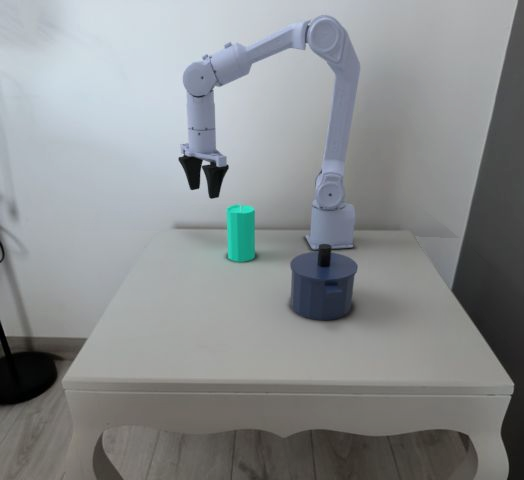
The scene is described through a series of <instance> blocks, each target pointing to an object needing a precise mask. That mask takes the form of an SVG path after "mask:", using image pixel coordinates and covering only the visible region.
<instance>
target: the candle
mask: <svg viewBox="0 0 524 480" xmlns="http://www.w3.org/2000/svg"><path fill="white" fill-rule="evenodd" d="M226 235H227V239H226V240H227V258H228V259H229V260H230V261H233V262H238V263H241V262H242V263H243V262H246V263H247V262H249V261H252V260H254V259H255V258H256V210H255V208H254V207H253V206H252V205H242V201H239V204H237V203H236V204H233V205H230V206H227V208H226Z"/></svg>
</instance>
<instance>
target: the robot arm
mask: <svg viewBox="0 0 524 480" xmlns="http://www.w3.org/2000/svg"><path fill="white" fill-rule="evenodd" d="M306 44H308V47H309V49H310V50H311V52H313V53H314V54H315V55H316V56H318V57H319V58H320V59H322V60H324V61H325V62H326V64H327V65H328V66H329V67H330V69H331V70H332V72H333V74H334V80H333V82H334V83H333V87H332V88H333V89H332V93H331V94H332V95H331V101H330V109H329V116H328V121H327V122H328V123H327V130H326V136H325V143H324V150H323V156H322V157H323V158H322V162H321V167H320V170H319V172H318V173H317V175H316V177H315V179H314V188H315V192H314V197H315V198H314V199H313V200H312V202H311V217H310V218H311V219H310V233H309V234H306V235H305V236H304V237H305V239H306V241H307V243H308V244H309V246H310V248H311V250H314V251H315V250H318V249H319V245H320V244H329V245H331V246H332V250H335V249H336V250H337V249H351V248H352V249H353V248H354V245H353V244H354V232H355V224H356V211H355V207H354V204H352V203H346V201H345V198H346V189H345V185H344V177H345V167H346V166H345V165H346V159H347V158H346V157H347V153H348V152H347V151H348V145H349V141H350V132H351V129H352V128H351V127H352V120H353V114H354V110H355V104H356V96H357V92H358V86H359V80H360V75H361V74H360V72H361V62H360V60H359V57H358V55H357V52H356V51H355V47H354V45H353V43H352V40H351V38H350V35H349V32H348V30H347V28H345V27H344V26H343V25H342V23H340V22H339V21H338V19H337V18H336V17H334V16H332V15H329V14H320V15H318V16H316V17H315V18H314V19H312V18H309V19H305V20H300V21H298V22H294V23H291V24H289V25H286V26H285V27H283V28H281V29H279V30H277V31H275V32H273V33H271V34H269V35H267V36H265V37H263V38H260V39H259V40H257V41H255V42H253V43H251V44H249V45H248V46H246V45H243V44H242V43H239V42H235V43H233V44H232V41H229V42H227V43H224V44H223V47H224V48H222V49H220V50H218V51H216V52H214V53H212V54H210V55H209V54H208V53H205V54H204V55H202V56H201V58H202V60H198V61H193V62H191V63H190V64H189V65H188V66H187V67H186V68H185V69H184V71H183V73H182V84H183V87H184V88H185V90H186V119H187V121H186V122H187V136H188V137H187V138H188V140H187V141H188V142H187V143H181V144H180V154H181V155H182V156H179V157H178V162H179V164H180V165H181V167H182V169H183V172H184V174H185V177H186V180H187V184H188V187H189V190H190V191H195V190H199V189H200V186H201V174H202V173H201V172H202V171H203V173H204V176H205V180H206V186H207V193H208V194H207V195H208V197H209V199H210V200H212V199H213V200H214V199H217V198H220V194H221V189H222V185H223V182H224V178H225V176H226V174H227V172H228V171H229V169H230V166H229V164H227V162H228V161H227V156H226V155H224V154H222V153H221V152H220V151H219V150H218V149H217V135H216V134H217V133H216V130H217V129H216V104H215V97H214V96H215V93H214V91H215V90H214V88H215V87H217V88H221V87H224V86H226V85H228V84H229V83H233V82H234V81H236V80H239V79H241V78H243V77H245V76H247V75H249V74H250V71H251V68H252V66H253V64H256V63H258V62H259V61H262V60H265V59H268V58H270V57H271V56H274V55H277V54H279V53H281V52H283V51H287V50H289V49H294V50H295V49H296V50H302V51H306V48H307V47H306V46H307V45H306ZM203 161H205V162H208V163H209V164H204V165H203Z"/></svg>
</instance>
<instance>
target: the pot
mask: <svg viewBox="0 0 524 480" xmlns="http://www.w3.org/2000/svg"><path fill="white" fill-rule="evenodd" d="M355 276H356V274H355V275H354V276H352V277H351V278H348V279H346V280H342V281H336V282H319V281H312V280H308V279H305V278H302V277H300V276H298V275H296V274H295V273H294V272H293V271H292V270H291V283H290V307H291V309H292V311H294V313H296V314H298V315H299V316H301V317H304V318H306V319H310V320H315V321H316V320H317V321H332V320H337V319H340V318H343V317H345V316H346V315H348V314H349V313H350V311H351V307H352V302H353V294H354V284H355Z"/></svg>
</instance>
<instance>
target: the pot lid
mask: <svg viewBox="0 0 524 480" xmlns="http://www.w3.org/2000/svg"><path fill="white" fill-rule="evenodd" d="M317 250H318V251H310V252H304V253H301V254H298V255H296V256H295V257H293V258H292V259H291V260H290V263H289V264H290V267H289V268H290V271H291V272H292V271H293V272H294V273H295V274H296V275H298V276H300V277H302V278H305V279H308V280H312V281H319V282H336V281H342V280H346V279H348V278H351V277H352V276H354V275H355V276H356V274H357V273H358V268H359V267H358V264H357V262H356V261H355V260H354V259H353V258H351V257H350V256H347V255H344V254H341V253H338V252H332V250H333V249H332V246H331V245H329V244H320V245H319V249H317Z"/></svg>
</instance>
